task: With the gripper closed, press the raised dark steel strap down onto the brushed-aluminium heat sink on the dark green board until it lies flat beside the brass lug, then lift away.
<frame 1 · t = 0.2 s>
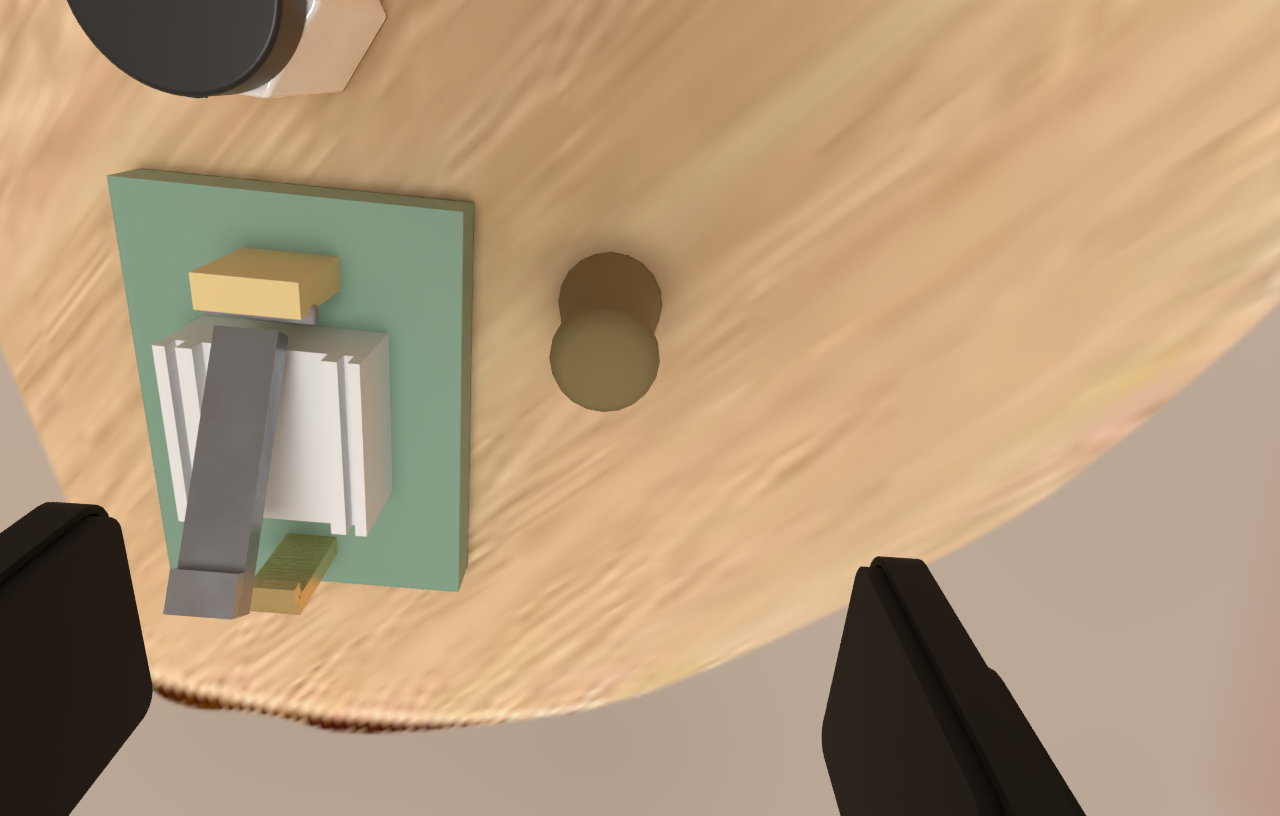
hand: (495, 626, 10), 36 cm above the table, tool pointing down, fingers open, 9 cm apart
strap: (228, 468, 37), point 12 cm above the table, hinge at 30.0°
board: (321, 388, 48), on the table
cork: (610, 302, 46), on the table
lug: (330, 517, 51), resting on board
jar: (299, 2, 40), on the table
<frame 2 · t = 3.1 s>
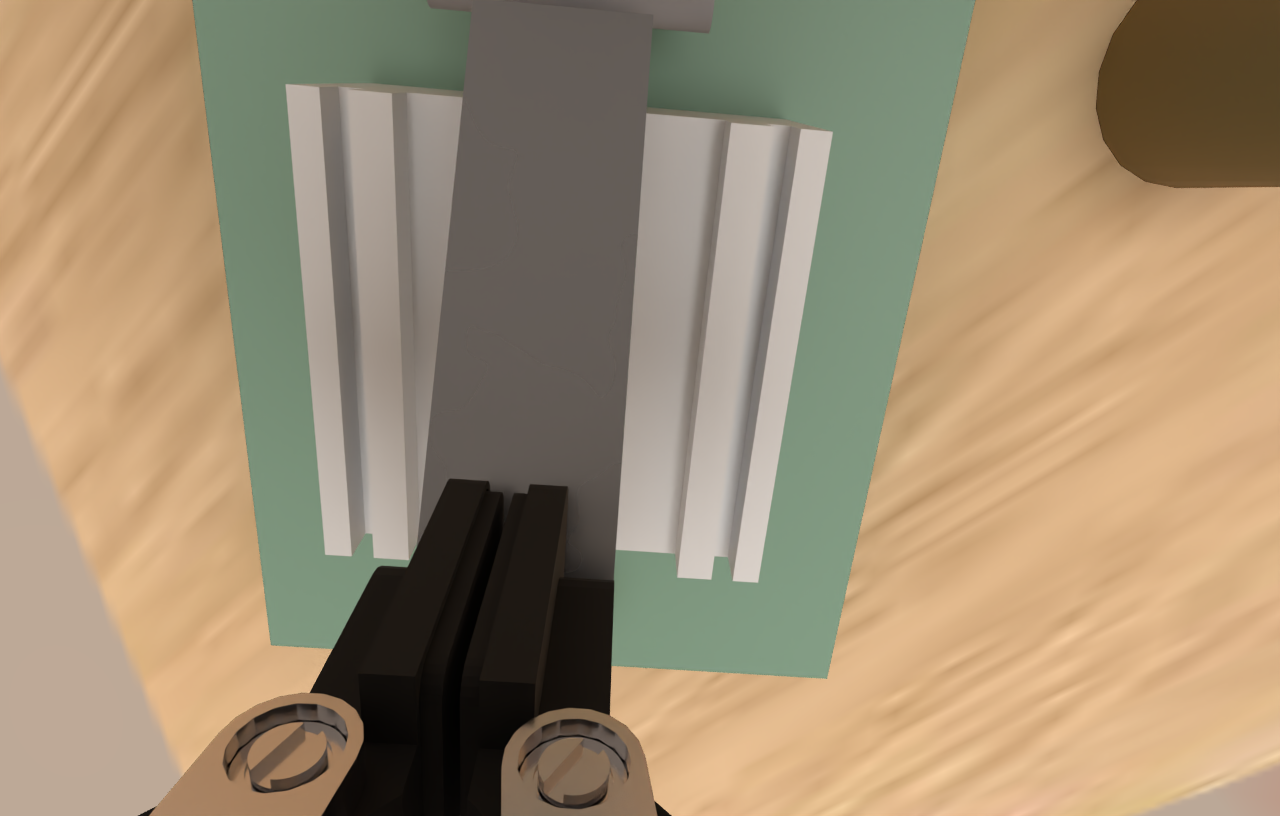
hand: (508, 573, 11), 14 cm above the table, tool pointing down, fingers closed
strap: (531, 403, 13), point 12 cm above the table, hinge at 30.0°, touching gripper
board: (577, 276, 24), on the table
cork: (1203, 74, 22), on the table
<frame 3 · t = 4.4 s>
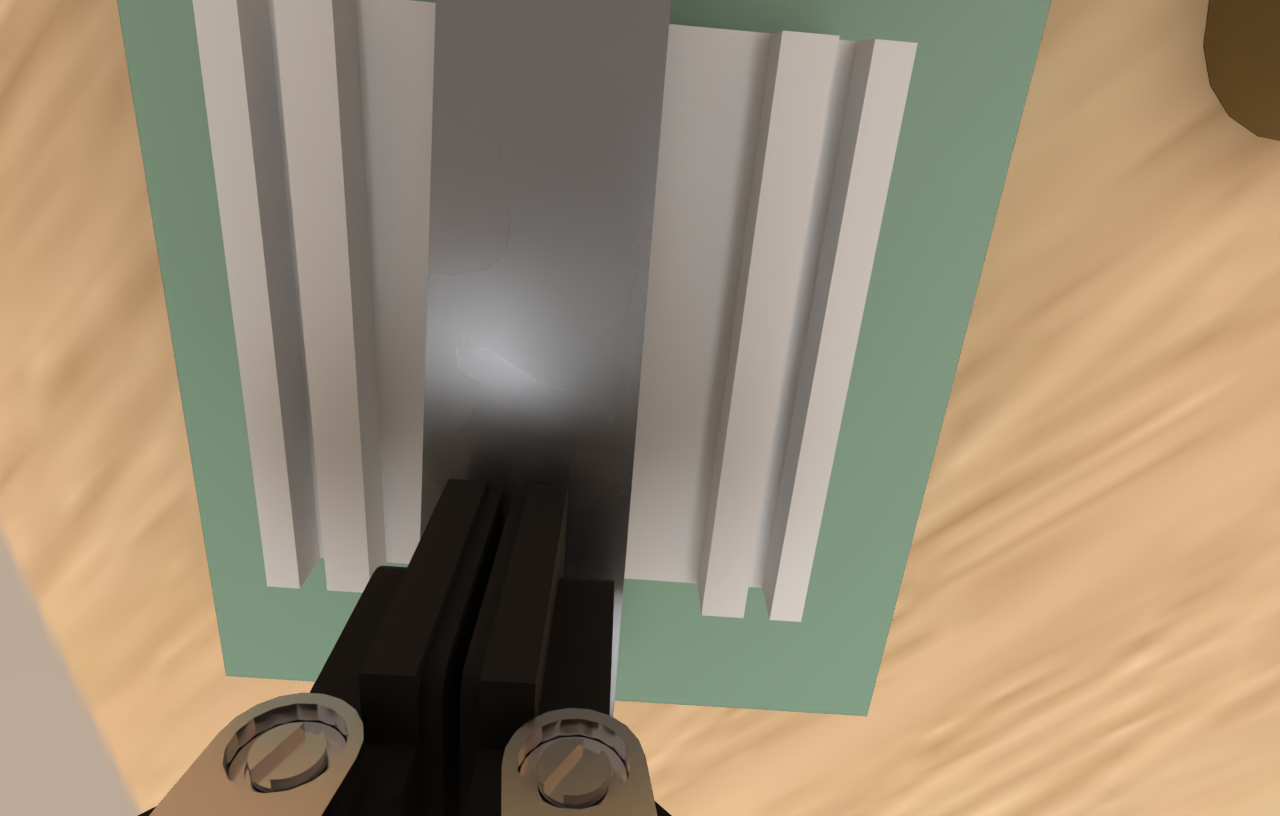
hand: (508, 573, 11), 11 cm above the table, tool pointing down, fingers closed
strap: (532, 420, 11), point 10 cm above the table, hinge at 12.5°, touching gripper
board: (580, 249, 20), on the table
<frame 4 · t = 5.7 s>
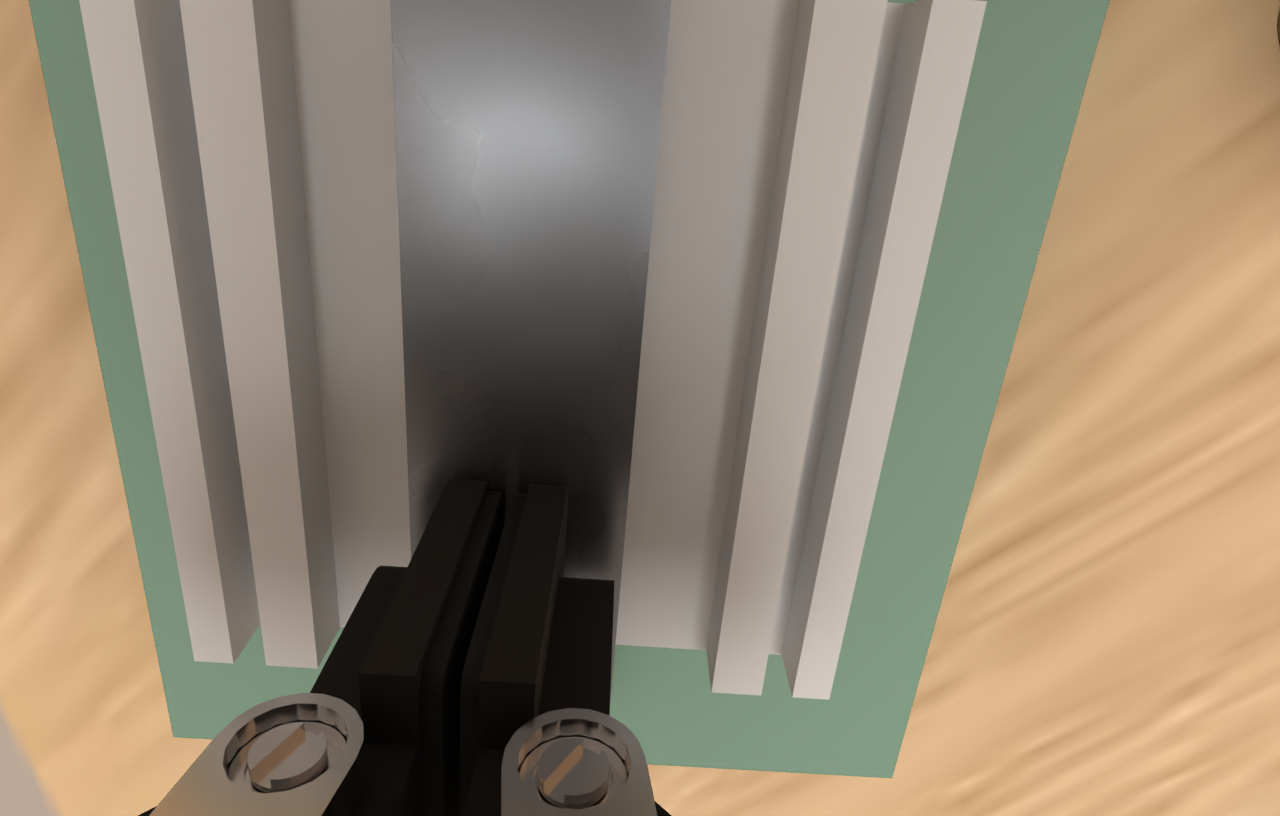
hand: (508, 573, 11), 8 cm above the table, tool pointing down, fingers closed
strap: (522, 443, 11), point 8 cm above the table, hinge at 0.0°, touching gripper
board: (570, 258, 18), on the table
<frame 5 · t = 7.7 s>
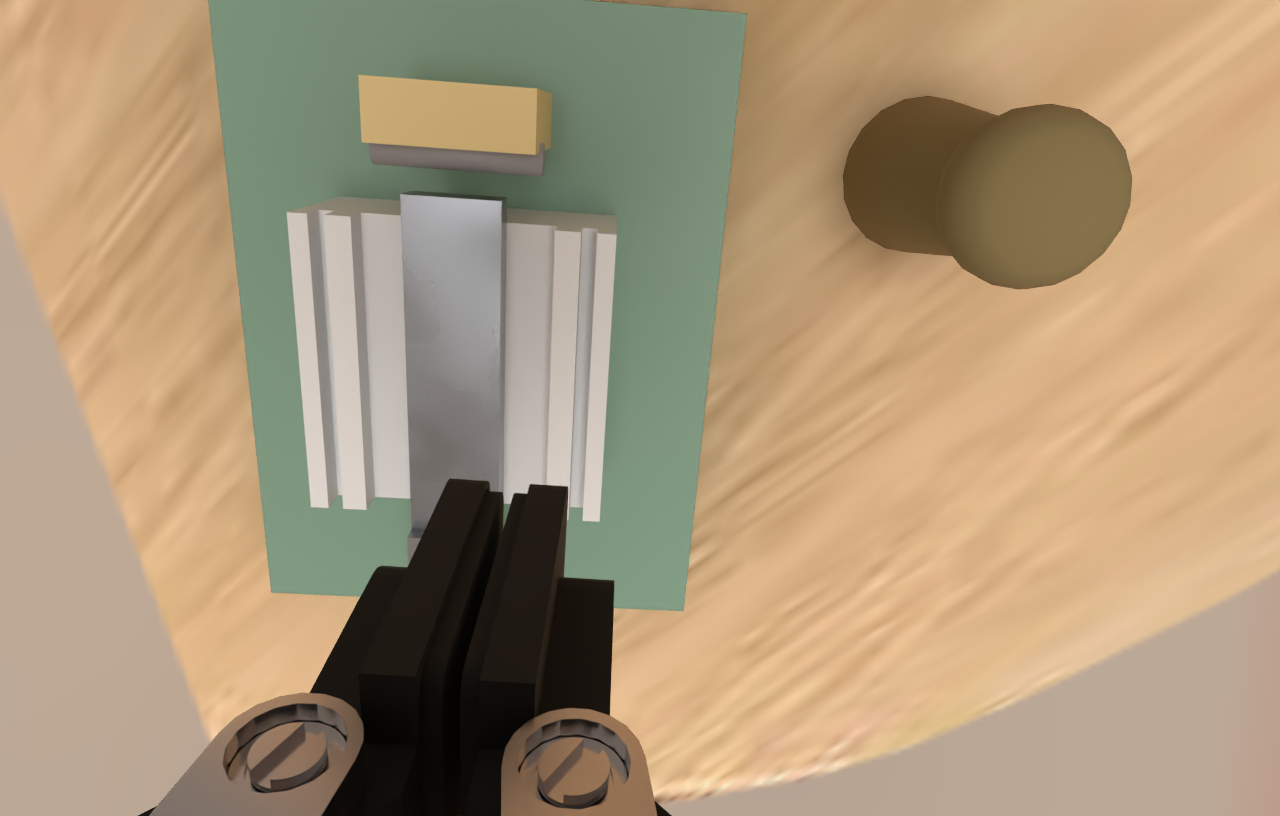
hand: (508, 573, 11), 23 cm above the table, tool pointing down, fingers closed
strap: (455, 403, 26), point 8 cm above the table, hinge at 0.0°
board: (491, 319, 33), on the table
cork: (915, 176, 32), on the table
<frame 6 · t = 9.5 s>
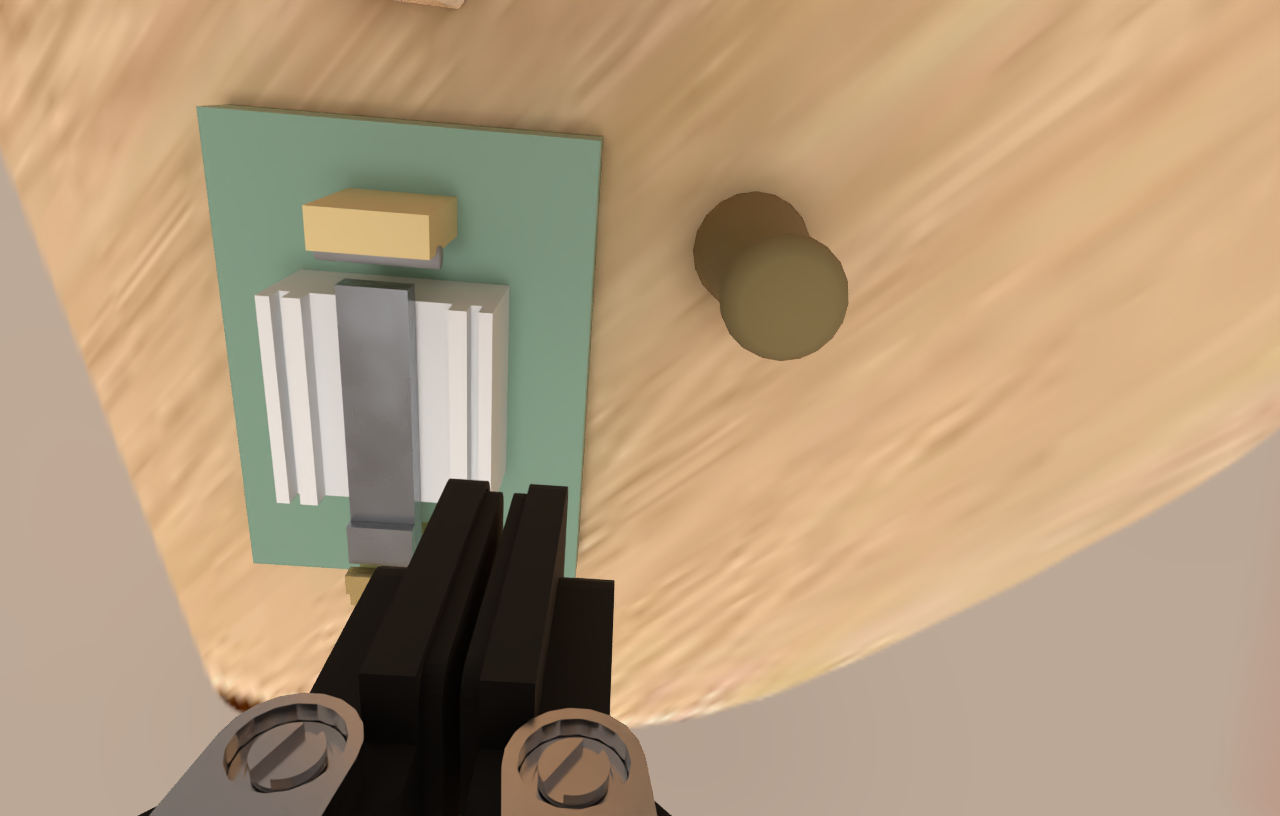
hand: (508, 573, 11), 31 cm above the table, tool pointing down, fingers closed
strap: (380, 430, 36), point 8 cm above the table, hinge at 0.0°
board: (423, 355, 43), on the table
cork: (751, 250, 41), on the table
lug: (427, 503, 46), resting on board
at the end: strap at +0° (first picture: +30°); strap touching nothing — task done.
